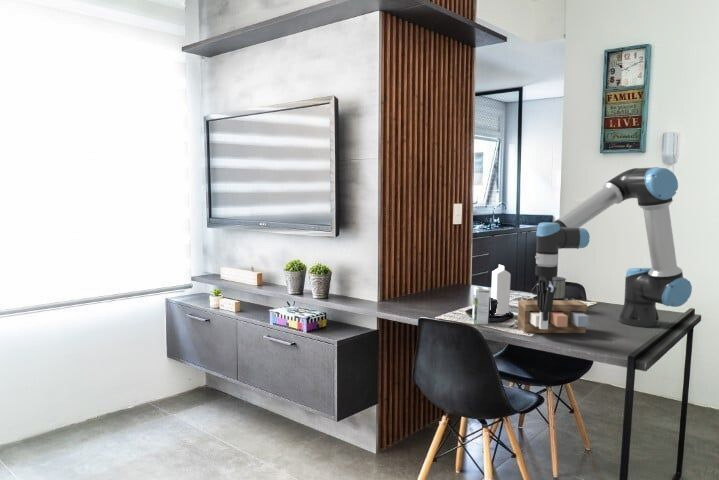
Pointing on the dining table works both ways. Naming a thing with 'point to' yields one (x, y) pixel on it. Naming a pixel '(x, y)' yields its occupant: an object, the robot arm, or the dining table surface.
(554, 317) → the salmon pink block
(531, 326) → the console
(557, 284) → the milk frother
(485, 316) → the syrup box
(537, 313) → the cream button
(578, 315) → the slate button
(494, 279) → the milk
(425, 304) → the dining table surface
